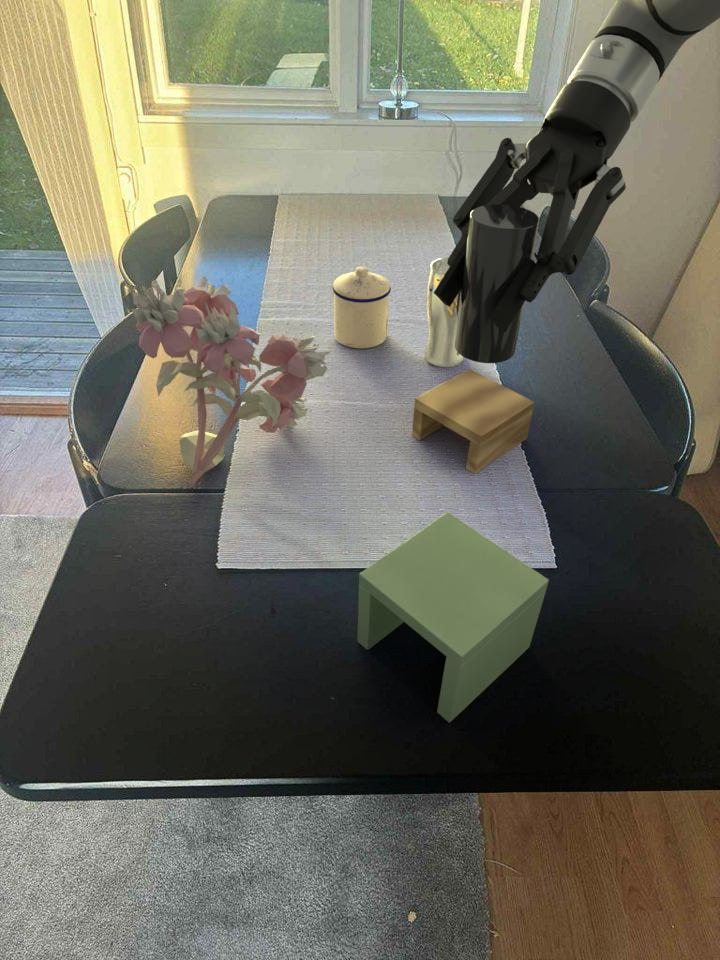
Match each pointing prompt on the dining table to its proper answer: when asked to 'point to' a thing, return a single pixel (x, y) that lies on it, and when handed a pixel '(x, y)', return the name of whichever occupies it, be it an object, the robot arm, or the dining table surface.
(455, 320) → the beer glass
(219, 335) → the flower
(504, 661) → the green step stool
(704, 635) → the dining table surface
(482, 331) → the dark grey cylinder
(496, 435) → the low shelf
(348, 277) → the teacup with lid
